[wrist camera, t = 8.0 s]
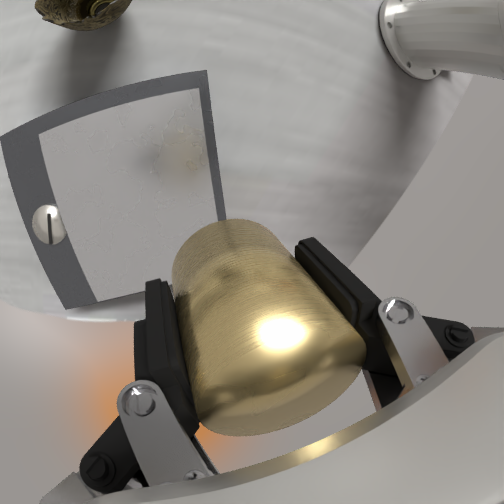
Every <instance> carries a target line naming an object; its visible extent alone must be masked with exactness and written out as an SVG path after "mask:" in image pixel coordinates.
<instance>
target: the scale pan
mask: <svg viewBox="0 0 504 504" xmlns="http://www.w3.org/2000/svg"><path fill="white" fill-rule="evenodd" d="M38 135H39V139H40V144H41V149H42V153H43V157H44V161H45V165H46V169H47V173H48V177H49V180H50V184H51V187H52V190H53V194H54V197H55V200H56V203H57V206H58V209H59V212H60V215H61V218H62V221H63V223H64V226H65V229H66V231H67V234H68V237H69V239H70V242H71V244H72V247H73V249H74V252H75V254H76V256H77V259H78V261H79V263H80V266H81V268H82V270H83V272H84V274H85V277H86V279H87V281H88V283H89V285H90V287H91V289H92V291H93V293H94V295H95V297H96V299H97V301H98V302H99V301H103V300H108V299H112V298H116V297H120V296H125V295H129V294H133V293H137V292H141V291H145V282H147V281H150V280H154V279H158V278H160V279H161V281H166V280H167V282H168V285H171V284H172V277H171V274H172V266H173V262H174V259H175V257H176V255H177V253H178V251H179V249H180V248H181V246H182V245H183V244H184V242H185V241H186V240H187V239H188V238H189V237H190V236H192V235H193V234H194V233H195V232H197V231H198V230H200V229H201V228H203V227H205V226H207V225H209V224H212V223H215V222H218V218H217V212H216V206H215V200H214V193H213V187H212V180H211V173H210V167H209V160H208V153H207V146H206V139H205V132H204V124H203V117H202V109H201V101H200V93H199V88H196V89H190V90H184V91H178V92H173V93H168V94H163V95H158V96H154V97H149V98H145V99H141V100H137V101H133V102H129V103H125V104H122V105H118V106H115V107H111V108H108V109H105V110H102V111H98V112H95V113H92V114H89V115H86V116H84V117H81V118H78V119H75V120H72V121H70V122H67V123H65V124H62V125H60V126H57V127H55V128H52V129H50V130H47V131H45V132H43V133H41V134H38Z"/></svg>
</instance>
